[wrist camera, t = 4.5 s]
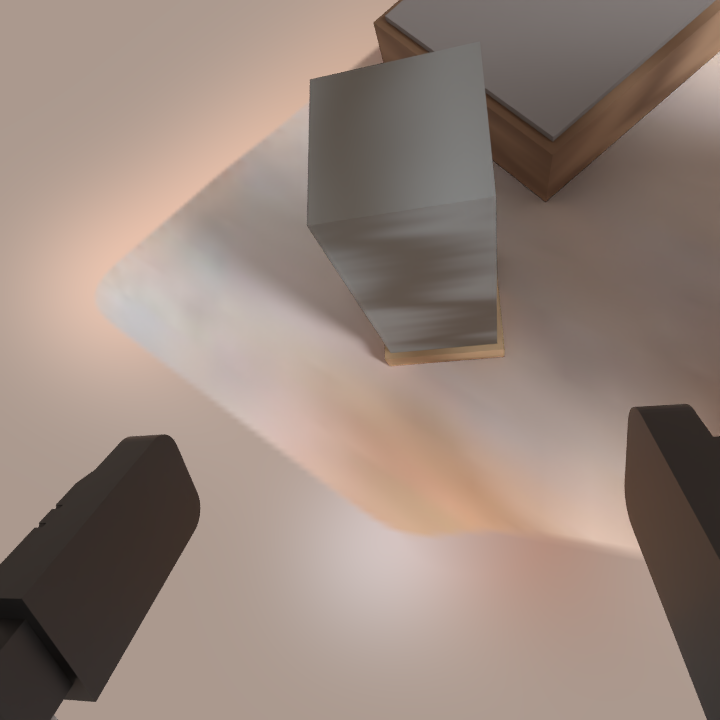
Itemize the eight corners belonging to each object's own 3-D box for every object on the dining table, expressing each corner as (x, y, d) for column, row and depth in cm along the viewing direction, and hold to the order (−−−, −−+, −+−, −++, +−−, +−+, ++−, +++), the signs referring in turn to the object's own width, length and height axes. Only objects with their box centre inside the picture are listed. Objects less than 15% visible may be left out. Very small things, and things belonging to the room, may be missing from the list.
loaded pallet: (493, 252, 26) (490, 30, 14) (504, 356, 25) (509, 205, 13) (386, 266, 28) (300, 73, 16) (389, 366, 26) (296, 236, 14)
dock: (573, -86, 31) (583, -167, 28) (767, 9, 26) (811, -73, 23) (387, 76, 31) (372, 17, 28) (545, 201, 26) (553, 150, 23)
